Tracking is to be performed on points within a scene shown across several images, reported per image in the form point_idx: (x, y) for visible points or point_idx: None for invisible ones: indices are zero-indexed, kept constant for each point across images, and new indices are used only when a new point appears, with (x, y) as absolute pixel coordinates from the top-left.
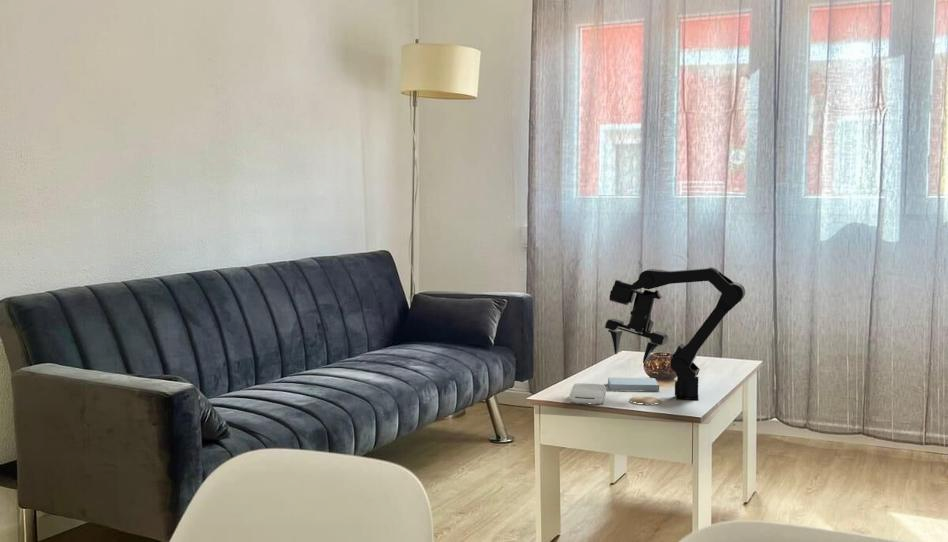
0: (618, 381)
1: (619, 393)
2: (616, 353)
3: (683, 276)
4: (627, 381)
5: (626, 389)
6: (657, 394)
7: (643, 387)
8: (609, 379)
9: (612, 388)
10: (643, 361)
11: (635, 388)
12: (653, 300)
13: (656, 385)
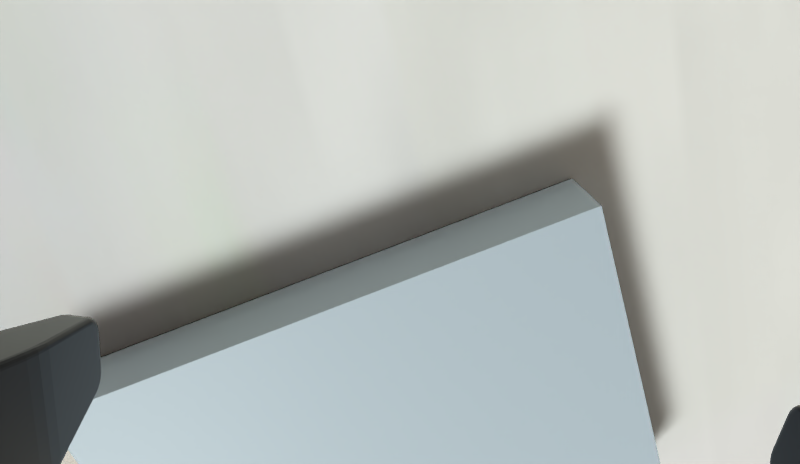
0: (541, 382)
1: (452, 80)
2: (792, 429)
3: None
4: (448, 424)
5: (410, 248)
6: (16, 223)
7: (228, 331)
8: (645, 428)
9: (562, 193)
10: (65, 324)
11: (316, 291)
12: None
13: None
